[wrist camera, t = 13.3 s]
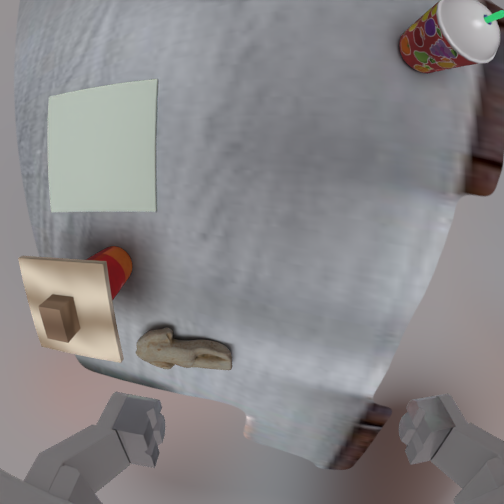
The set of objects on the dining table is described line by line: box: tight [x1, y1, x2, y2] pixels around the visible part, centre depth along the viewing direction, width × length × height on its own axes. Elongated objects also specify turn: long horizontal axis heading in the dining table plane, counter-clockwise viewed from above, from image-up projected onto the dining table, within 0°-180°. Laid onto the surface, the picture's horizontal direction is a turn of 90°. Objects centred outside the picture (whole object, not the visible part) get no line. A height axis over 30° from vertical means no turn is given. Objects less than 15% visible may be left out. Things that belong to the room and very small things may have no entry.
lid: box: [18, 256, 124, 363], centre depth 29 cm, size 12×12×4 cm
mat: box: [48, 79, 158, 212], centre depth 39 cm, size 18×18×1 cm
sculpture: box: [136, 328, 232, 370], centre depth 47 cm, size 7×5×15 cm
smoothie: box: [399, 0, 504, 73], centre depth 24 cm, size 8×8×20 cm
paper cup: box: [86, 246, 132, 300], centre depth 38 cm, size 8×8×14 cm
